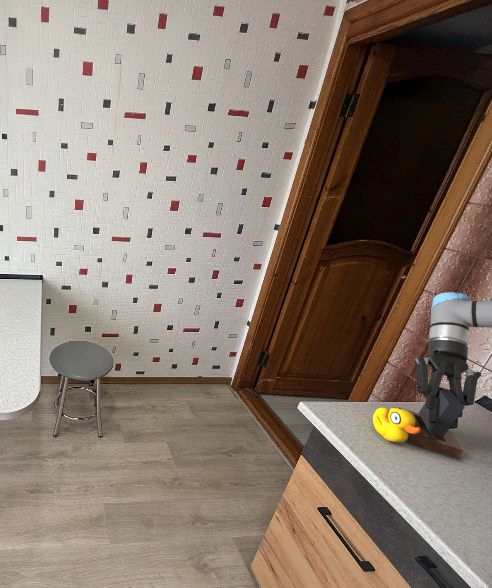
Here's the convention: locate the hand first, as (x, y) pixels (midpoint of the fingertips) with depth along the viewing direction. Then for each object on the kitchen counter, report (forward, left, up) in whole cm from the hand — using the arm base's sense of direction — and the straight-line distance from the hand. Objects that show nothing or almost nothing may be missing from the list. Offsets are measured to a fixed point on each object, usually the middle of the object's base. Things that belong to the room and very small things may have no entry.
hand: (442, 424), depth 87 cm
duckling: (+9, +6, -7) cm, 13 cm away
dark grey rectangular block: (+1, -4, -3) cm, 5 cm away
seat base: (+1, -4, -7) cm, 8 cm away
